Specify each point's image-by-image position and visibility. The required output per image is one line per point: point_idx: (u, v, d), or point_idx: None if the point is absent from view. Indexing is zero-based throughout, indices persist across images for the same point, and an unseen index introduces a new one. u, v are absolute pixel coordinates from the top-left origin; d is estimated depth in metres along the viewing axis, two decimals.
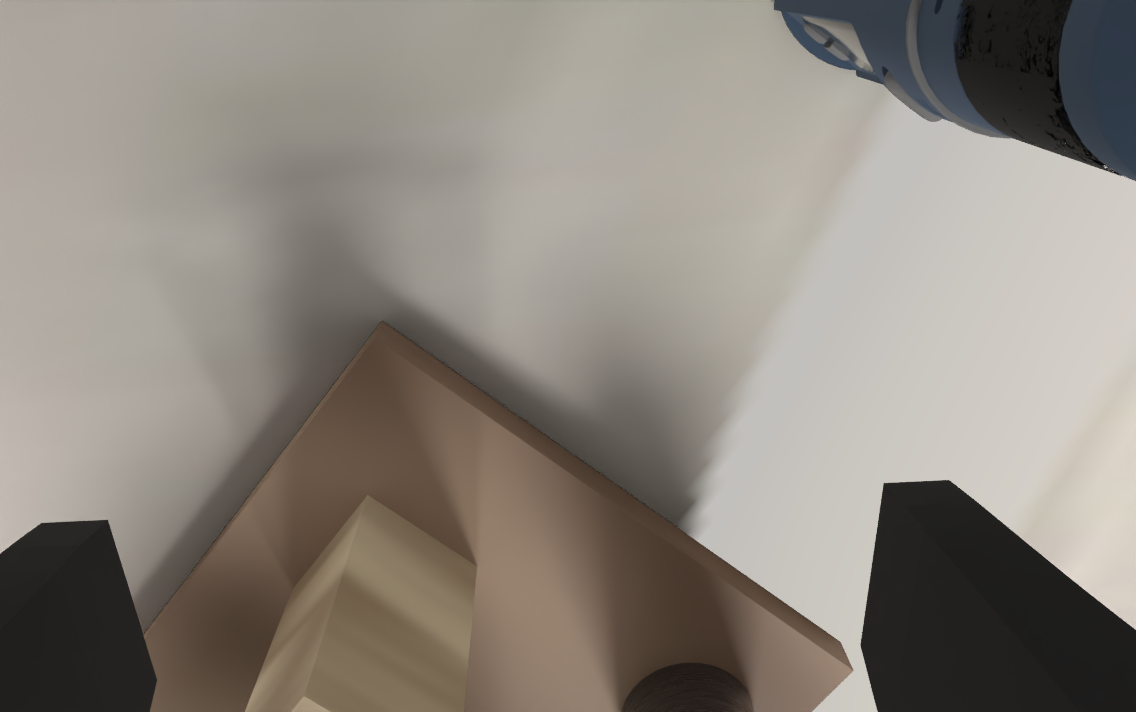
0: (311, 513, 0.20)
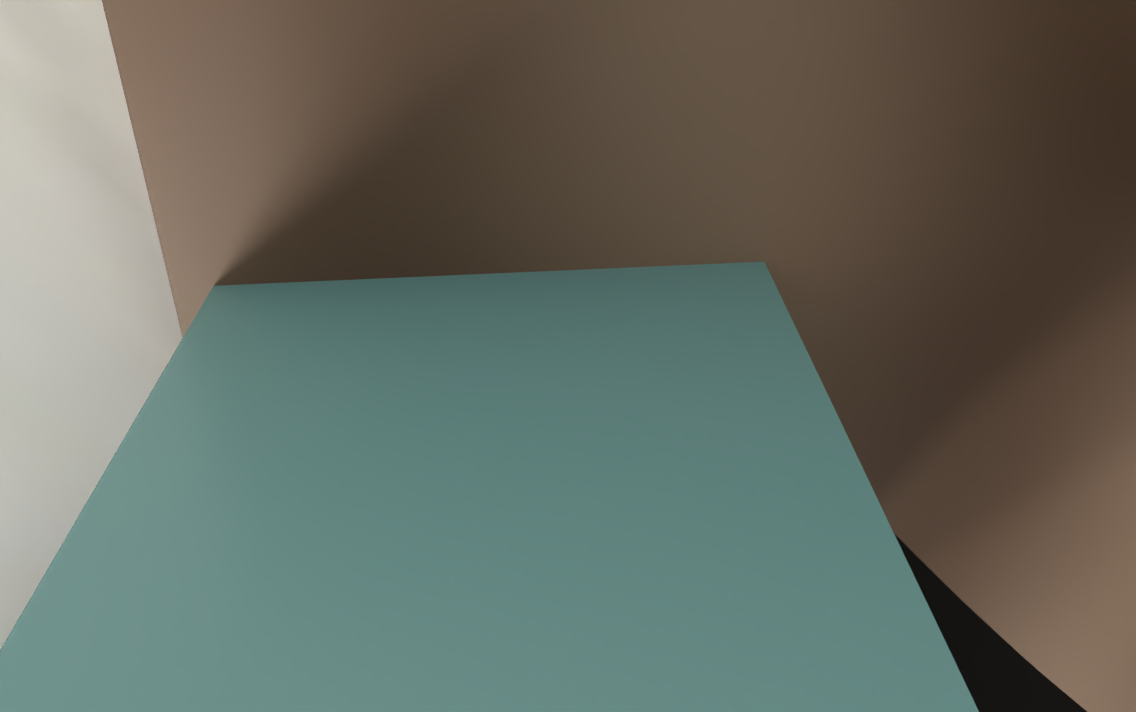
0: None
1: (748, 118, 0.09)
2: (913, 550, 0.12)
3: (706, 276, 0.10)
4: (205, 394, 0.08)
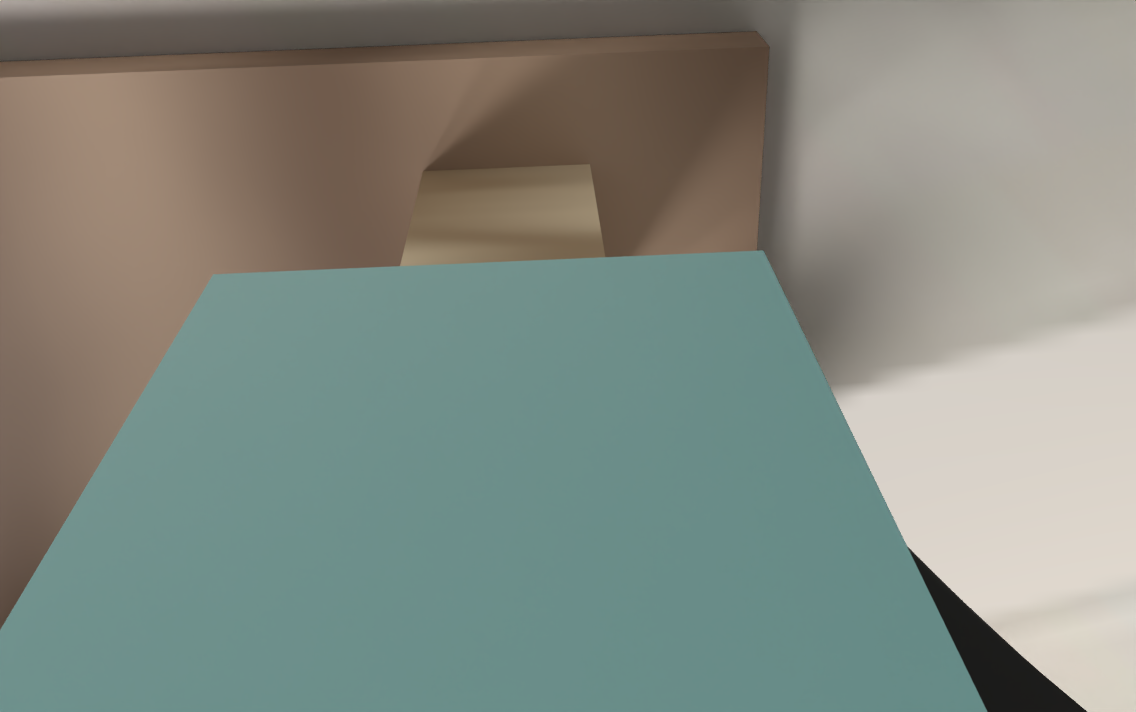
0: (525, 127, 0.16)
1: (161, 260, 0.17)
2: None
3: (705, 264, 0.10)
4: (205, 380, 0.08)
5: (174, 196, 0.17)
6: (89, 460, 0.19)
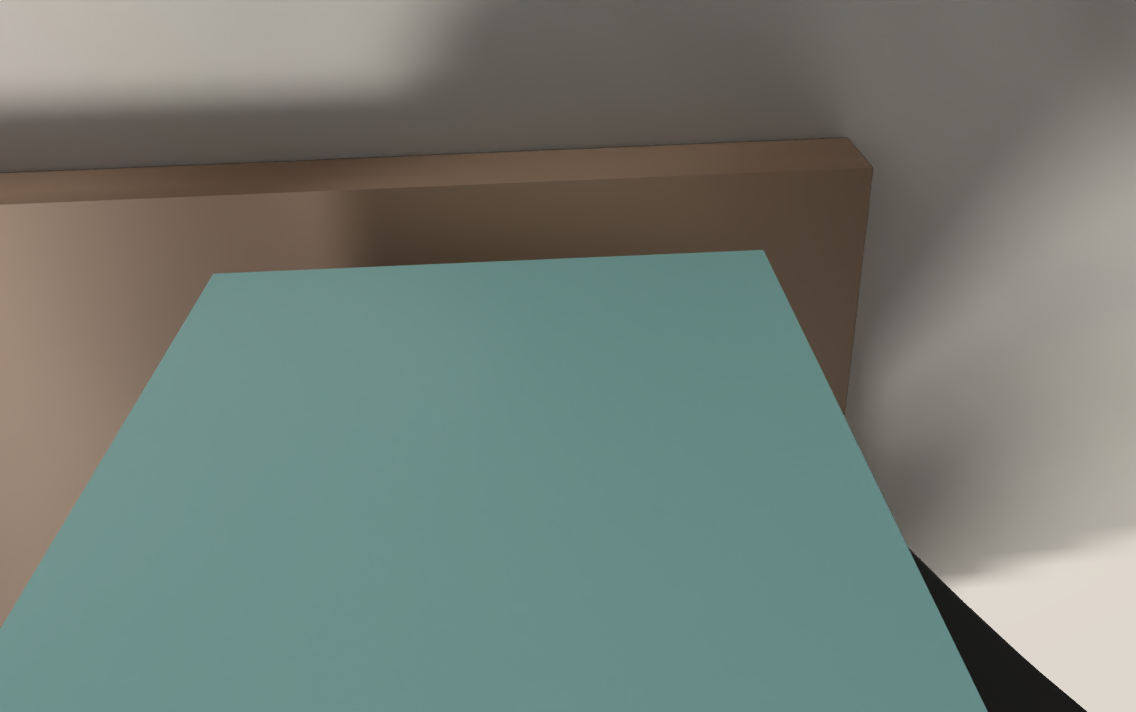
0: None
1: (26, 448, 0.12)
2: None
3: (705, 264, 0.10)
4: (205, 379, 0.08)
5: (38, 368, 0.12)
6: None
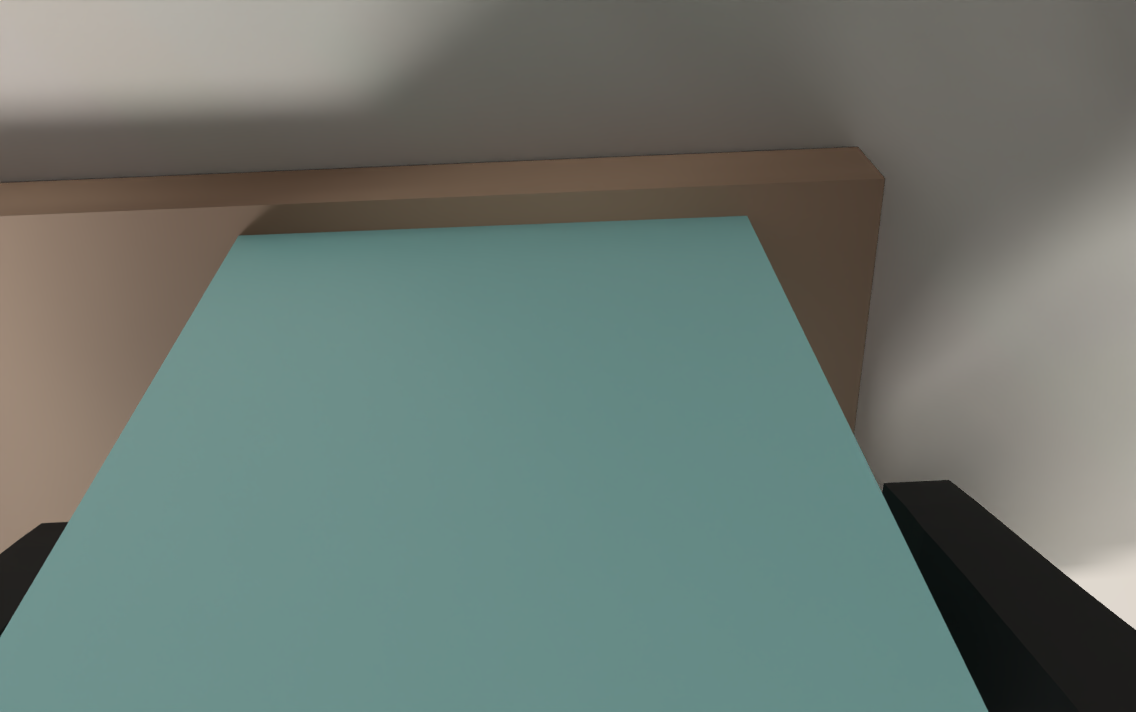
0: None
1: (14, 465, 0.12)
2: None
3: (693, 228, 0.11)
4: (236, 324, 0.09)
5: (26, 383, 0.12)
6: None
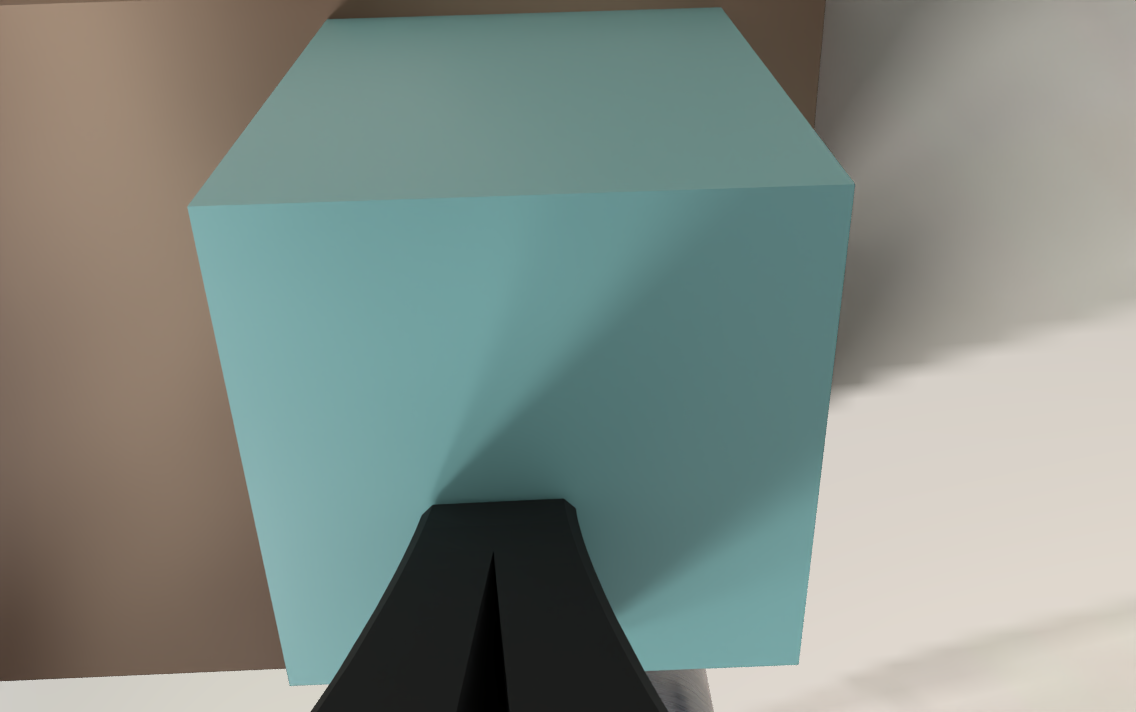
0: None
1: (140, 218, 0.15)
2: None
3: (679, 13, 0.14)
4: (337, 55, 0.12)
5: (154, 145, 0.15)
6: (63, 443, 0.17)
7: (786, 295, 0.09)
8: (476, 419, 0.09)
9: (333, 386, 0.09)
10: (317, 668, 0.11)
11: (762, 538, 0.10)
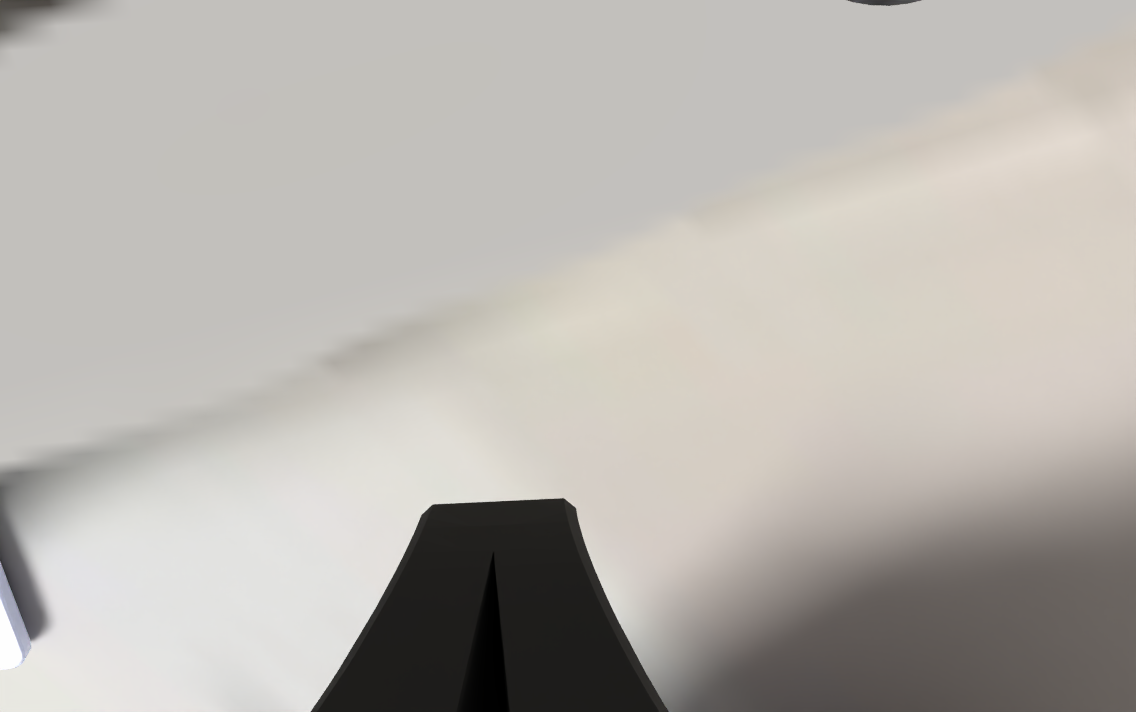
0: None
1: None
2: None
3: None
4: None
5: None
6: None
7: None
8: None
9: None
10: None
11: None
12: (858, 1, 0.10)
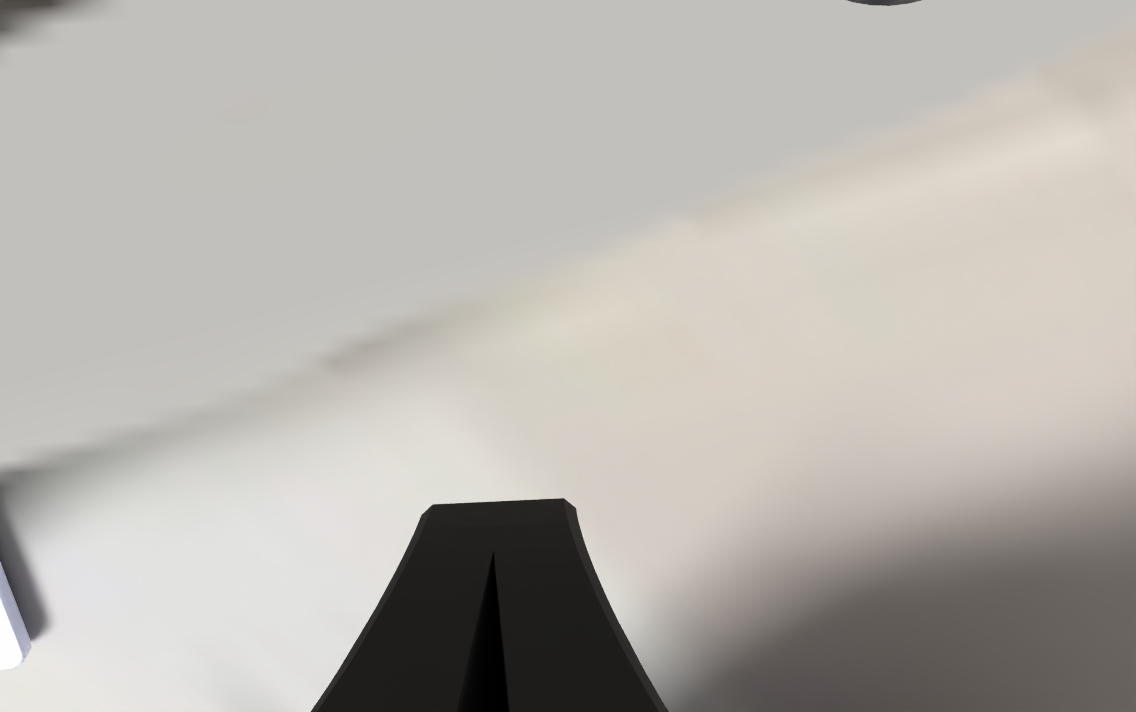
0: None
1: None
2: None
3: None
4: None
5: None
6: None
7: None
8: None
9: None
10: None
11: None
12: (858, 1, 0.10)
